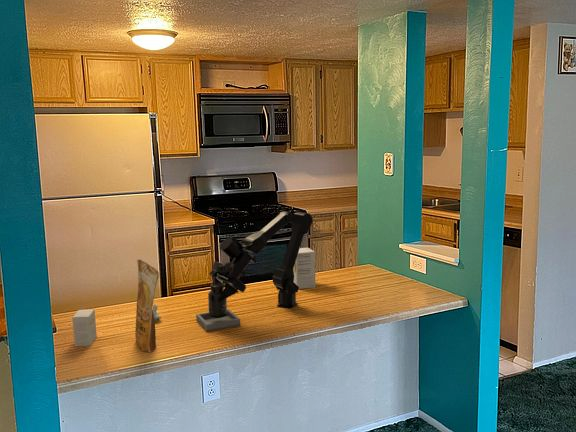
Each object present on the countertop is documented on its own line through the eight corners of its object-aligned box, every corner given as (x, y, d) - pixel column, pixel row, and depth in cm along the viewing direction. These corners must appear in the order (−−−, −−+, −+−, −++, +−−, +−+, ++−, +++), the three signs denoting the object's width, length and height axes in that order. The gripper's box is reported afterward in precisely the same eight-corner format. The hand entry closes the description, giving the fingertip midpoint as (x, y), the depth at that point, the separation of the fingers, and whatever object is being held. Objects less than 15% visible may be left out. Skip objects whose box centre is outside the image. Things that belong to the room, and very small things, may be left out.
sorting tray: (228, 315, 214) (228, 308, 214) (240, 325, 203) (240, 318, 202) (196, 320, 209) (196, 314, 208) (206, 331, 197) (206, 324, 197)
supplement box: (290, 284, 255) (289, 248, 252) (309, 282, 258) (308, 247, 255) (296, 289, 246) (296, 253, 243) (316, 287, 249) (315, 251, 246)
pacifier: (146, 325, 206) (162, 321, 208) (145, 309, 205) (161, 306, 207) (142, 319, 212) (157, 316, 215) (140, 304, 211) (156, 301, 214)
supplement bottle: (228, 317, 203) (227, 286, 201) (209, 319, 201) (208, 288, 199) (226, 311, 210) (225, 281, 207) (208, 313, 208) (206, 282, 206)
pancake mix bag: (151, 333, 197) (146, 257, 192) (164, 351, 180) (159, 269, 176) (132, 336, 194) (127, 259, 190) (143, 355, 177) (138, 271, 173)
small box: (81, 337, 194) (78, 309, 192) (97, 337, 194) (94, 308, 192) (74, 346, 186) (71, 317, 184) (91, 345, 186) (88, 316, 185)
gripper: (212, 248, 211) (188, 281, 207) (237, 257, 196) (211, 293, 192) (231, 265, 217) (208, 297, 213) (256, 274, 202) (232, 309, 198)
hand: (214, 299), depth 203 cm, fingers closed on supplement bottle, 6 cm apart
